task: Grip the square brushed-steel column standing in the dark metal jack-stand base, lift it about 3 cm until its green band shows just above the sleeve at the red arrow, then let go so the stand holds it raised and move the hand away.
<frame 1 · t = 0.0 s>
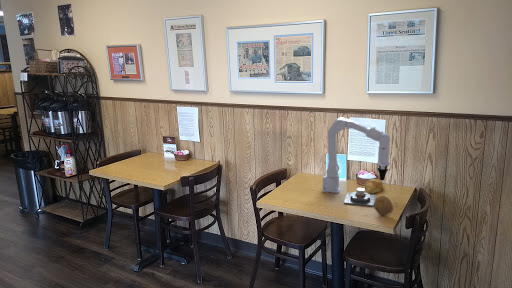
hand: (382, 178, 218), 10 cm above the table, tool pointing down, fingers open, 7 cm apart
column: (360, 194, 212), point 3 cm above the table, slide at 0.0 cm
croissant: (373, 190, 229), on the table
stand base: (360, 200, 212), on the table
natural sponge: (382, 215, 193), on the table
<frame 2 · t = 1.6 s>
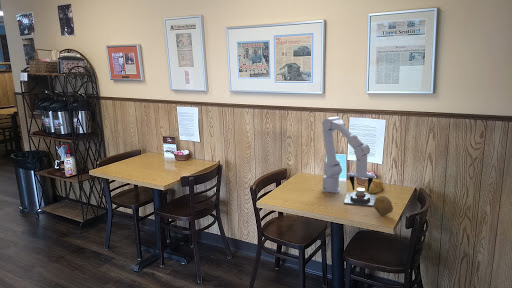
hand: (360, 190, 211), 6 cm above the table, tool pointing down, fingers open, 7 cm apart
nothing on the table moved.
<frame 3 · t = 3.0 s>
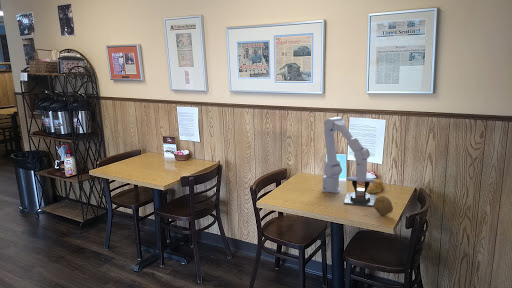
hand: (360, 194, 212), 4 cm above the table, tool pointing down, fingers closed on column, 4 cm apart
column: (360, 194, 212), point 3 cm above the table, slide at 0.0 cm, touching gripper
everything else where it was.
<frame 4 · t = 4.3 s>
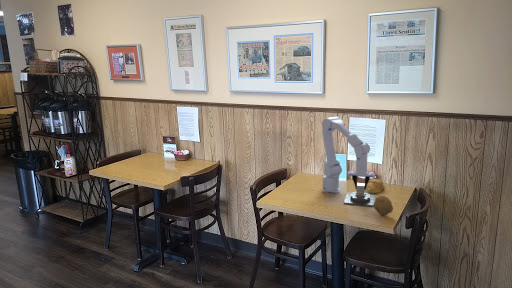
hand: (360, 189, 211), 7 cm above the table, tool pointing down, fingers closed on column, 4 cm apart
column: (360, 189, 211), point 6 cm above the table, slide at 2.8 cm, touching gripper
everything else where it was.
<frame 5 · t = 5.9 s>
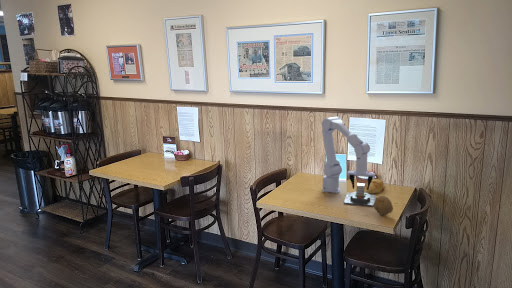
hand: (360, 188, 211), 7 cm above the table, tool pointing down, fingers open, 7 cm apart
column: (360, 189, 211), point 6 cm above the table, slide at 2.8 cm
everything else where it was.
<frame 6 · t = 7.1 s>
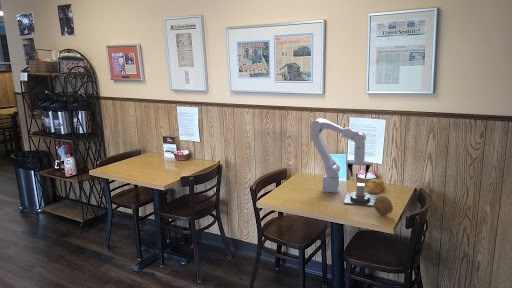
hand: (358, 177, 220), 10 cm above the table, tool pointing down, fingers open, 7 cm apart
nothing on the table moved.
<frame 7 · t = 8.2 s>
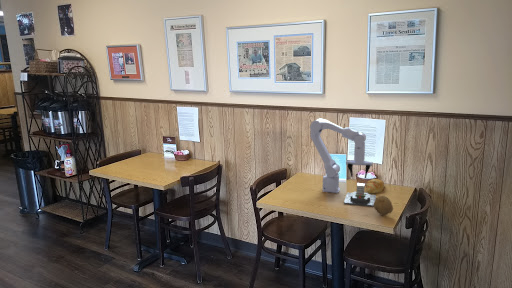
hand: (358, 177, 220), 10 cm above the table, tool pointing down, fingers open, 7 cm apart
nothing on the table moved.
at the end: column slide at 2.8 cm; the gripper is holding nothing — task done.
